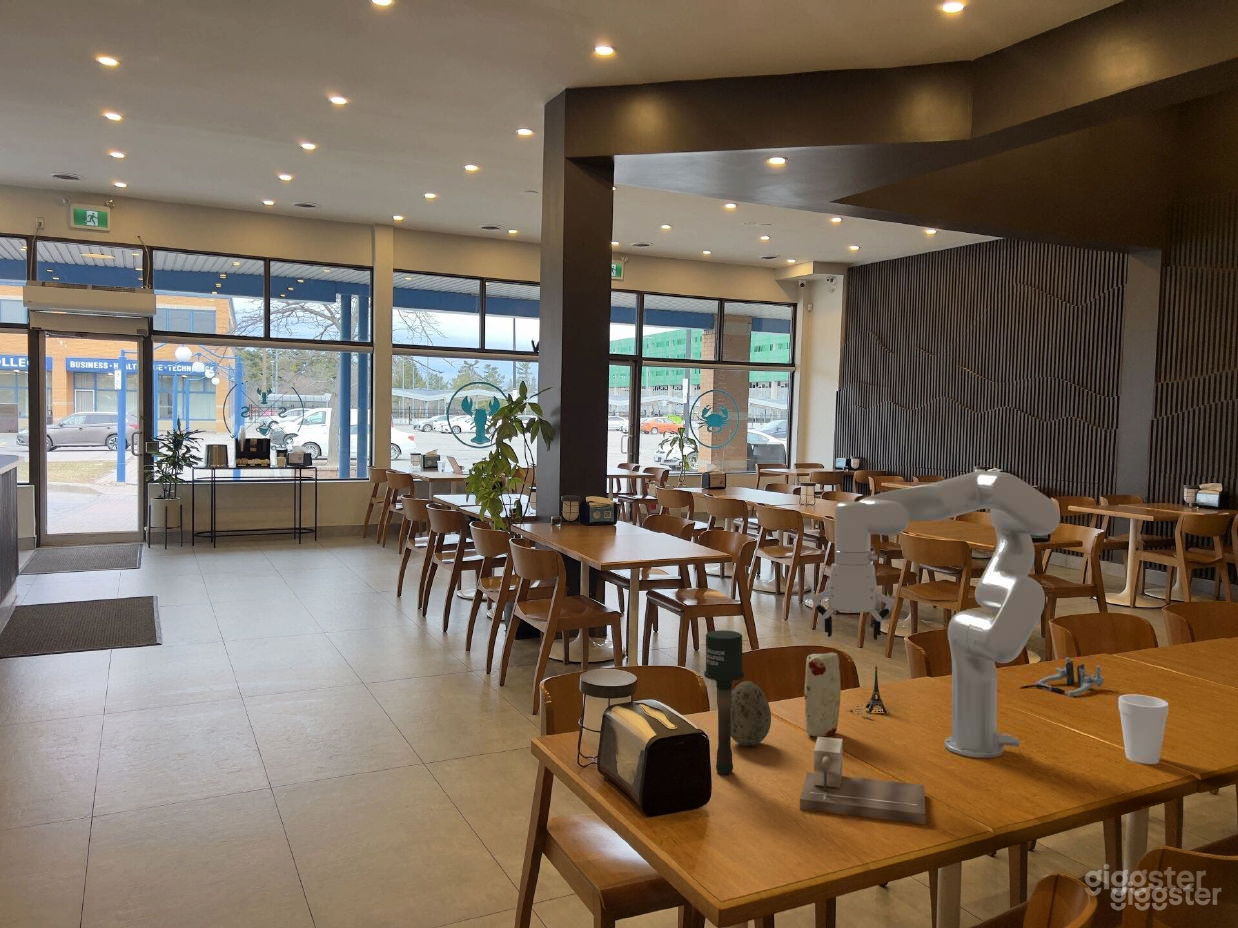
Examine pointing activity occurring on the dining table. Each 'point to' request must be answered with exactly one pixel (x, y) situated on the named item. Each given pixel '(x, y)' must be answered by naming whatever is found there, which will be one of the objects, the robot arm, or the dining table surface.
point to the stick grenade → (724, 686)
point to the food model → (822, 694)
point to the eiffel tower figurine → (873, 700)
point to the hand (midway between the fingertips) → (852, 636)
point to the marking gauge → (828, 762)
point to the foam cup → (1143, 726)
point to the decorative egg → (749, 714)
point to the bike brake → (1071, 679)
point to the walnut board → (867, 799)
